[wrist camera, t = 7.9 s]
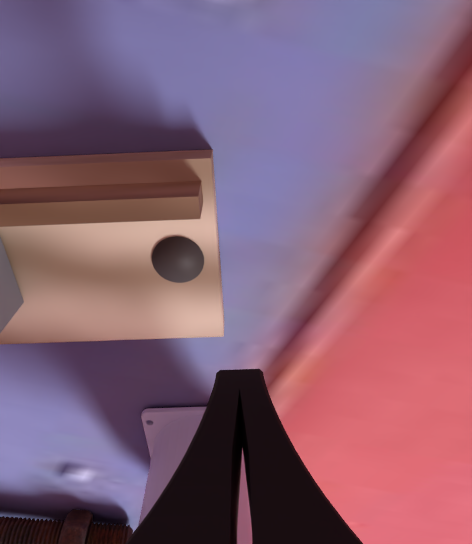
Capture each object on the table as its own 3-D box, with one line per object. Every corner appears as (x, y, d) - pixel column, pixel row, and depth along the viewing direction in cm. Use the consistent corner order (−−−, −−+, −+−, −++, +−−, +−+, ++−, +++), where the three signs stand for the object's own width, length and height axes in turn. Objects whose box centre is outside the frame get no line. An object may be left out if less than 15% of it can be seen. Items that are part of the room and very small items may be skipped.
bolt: (137, 505, 38) (-39, 494, 36) (136, 506, 33) (-65, 493, 32) (126, 585, 35) (-67, 578, 33) (122, 596, 31) (-100, 589, 29)
